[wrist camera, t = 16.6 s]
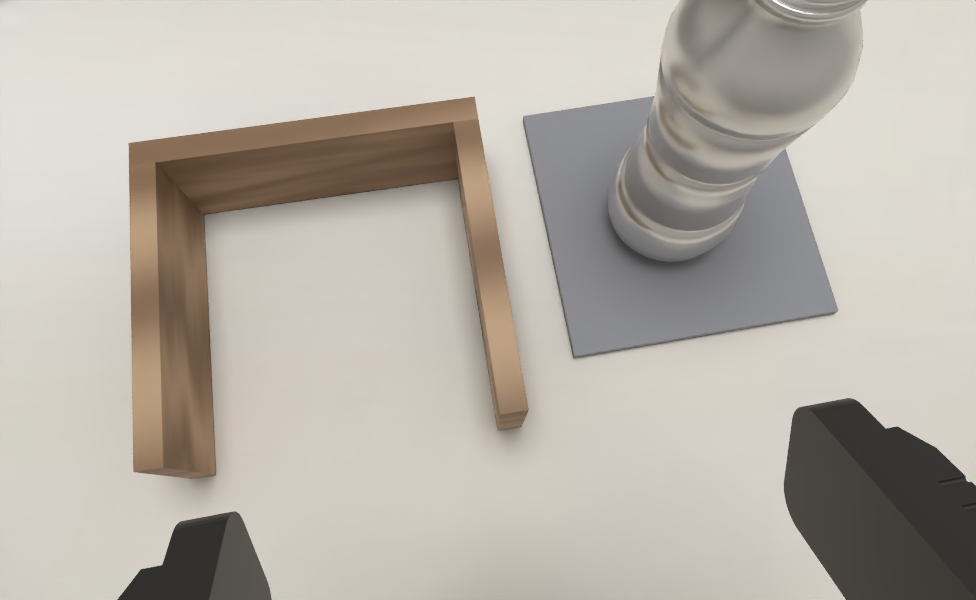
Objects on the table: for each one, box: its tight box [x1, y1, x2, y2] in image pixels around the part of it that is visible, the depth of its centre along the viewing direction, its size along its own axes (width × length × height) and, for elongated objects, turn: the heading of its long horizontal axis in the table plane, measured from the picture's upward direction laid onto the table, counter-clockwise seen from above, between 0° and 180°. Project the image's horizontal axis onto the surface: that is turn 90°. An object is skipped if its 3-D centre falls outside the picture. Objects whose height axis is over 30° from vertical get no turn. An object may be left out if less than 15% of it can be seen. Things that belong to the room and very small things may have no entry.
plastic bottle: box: [608, 0, 868, 262], centre depth 29 cm, size 6×7×20 cm
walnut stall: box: [129, 97, 528, 479], centre depth 35 cm, size 15×16×6 cm
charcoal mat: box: [523, 96, 838, 358], centre depth 39 cm, size 14×14×1 cm
